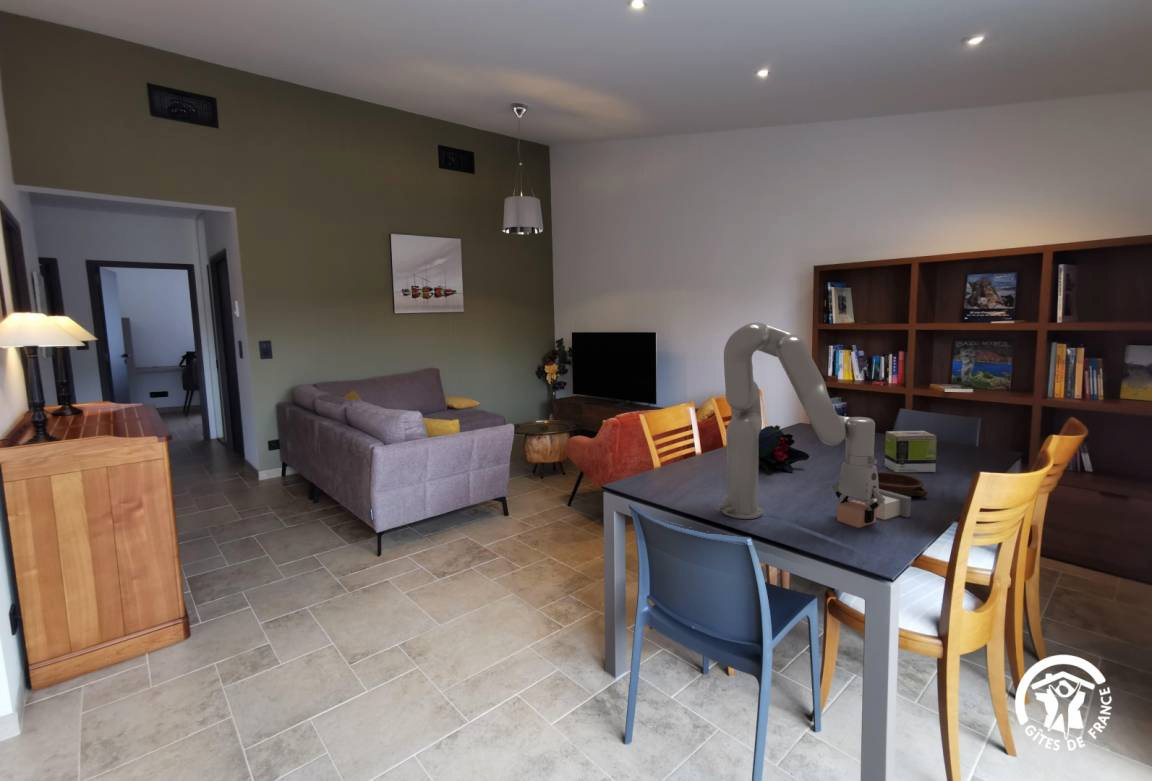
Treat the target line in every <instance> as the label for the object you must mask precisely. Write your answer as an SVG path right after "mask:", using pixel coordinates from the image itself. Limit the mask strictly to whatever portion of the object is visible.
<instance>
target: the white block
mask: <svg viewBox="0 0 1152 781" xmlns="http://www.w3.org/2000/svg"><path fill="white" fill-rule="evenodd" d="M879 493H880V494H881V495H882V496H883V497H884V498H885V501H884V502H883V503H882V504H881V505H880V506H879V507H877V513H876V519H877V518H878V519H880V520H884V521H885V520H889V519H892V518H894V517H898V516H901V517H904V518H909V517H911V507H912V506H911V505H912V496H909V497H908V496H904V495H900V494H896V493H893V492H889V491H885V490H881V489H879ZM862 501H863V500H862ZM876 501H877V499H874V502H876ZM863 502H864V501H863Z"/></svg>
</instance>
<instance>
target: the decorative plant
mask: <svg viewBox="0 0 1152 781" xmlns="http://www.w3.org/2000/svg"><path fill="white" fill-rule="evenodd" d="M780 428H781V426H780V425H777V424H776V425H774V426H773V425H768V426H764V427H763V428H761V431H760V433H759V439H758V451H759V460H758V465H759V466H761V467H763V469H765V471H767V473H768V474H769V473H772V474H773V473H774V468H776V469H780V470H783V471H785V472H788V473H790V472H791V473H793V471H794V468H793V466H792V464H794V463H797V462H803V461H807V460H809V458H810V455H809V453H807V452H806V451H803V450H799V449H797V448H795V447H792V445H793V444H794V443H795V440H794V439H793V437H794V435H792V434H790V433H787V434H785V433H784V432H783V431H782V430H781V429H780Z"/></svg>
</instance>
